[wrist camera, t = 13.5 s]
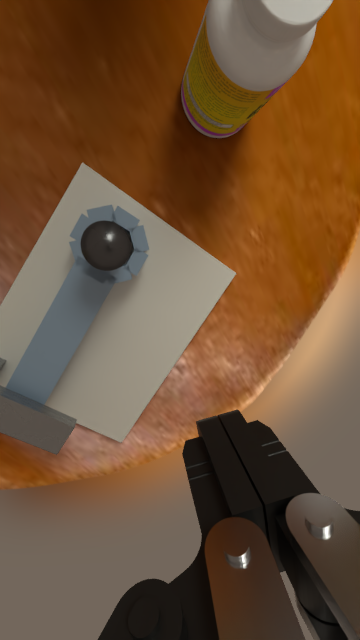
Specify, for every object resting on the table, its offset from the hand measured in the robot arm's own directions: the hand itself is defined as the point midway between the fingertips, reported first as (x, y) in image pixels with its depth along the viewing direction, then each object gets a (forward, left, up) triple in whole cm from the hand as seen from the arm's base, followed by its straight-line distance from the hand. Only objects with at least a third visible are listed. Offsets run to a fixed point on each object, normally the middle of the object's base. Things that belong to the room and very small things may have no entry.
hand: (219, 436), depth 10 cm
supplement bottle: (-19, -6, -21) cm, 29 cm away
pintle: (-3, -7, -21) cm, 22 cm away
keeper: (+13, -7, -20) cm, 25 cm away
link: (+4, -7, -19) cm, 21 cm away
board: (+4, -4, -21) cm, 21 cm away
